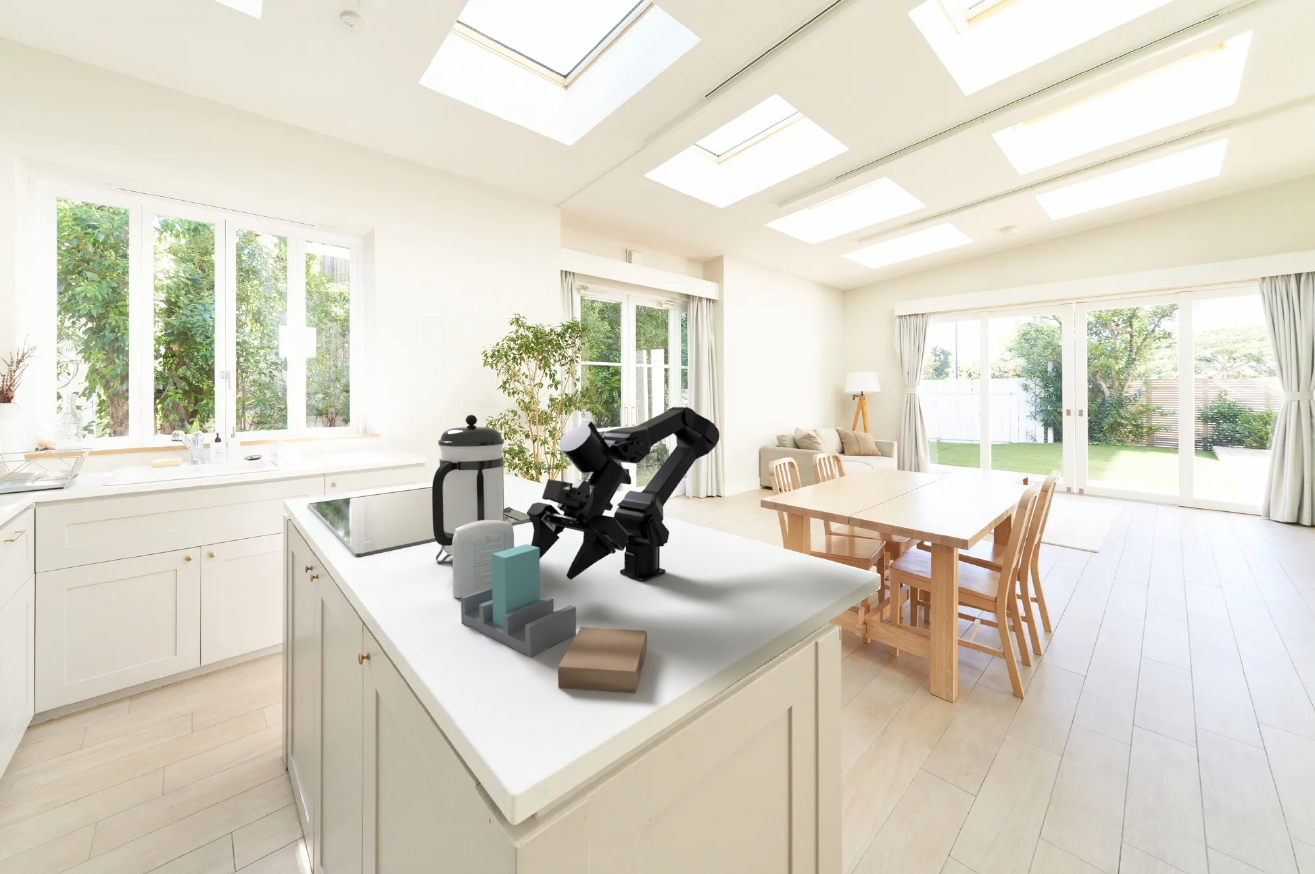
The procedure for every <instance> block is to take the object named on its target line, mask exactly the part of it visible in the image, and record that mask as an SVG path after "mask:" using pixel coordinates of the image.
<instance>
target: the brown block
mask: <svg viewBox="0 0 1315 874" xmlns="http://www.w3.org/2000/svg"><path fill="white" fill-rule="evenodd" d="M647 633H648V631H647V630H643V629H642V630H641V629H623V628H607V627H606V628H604V627H589V626H588V627H587V626H580V628H579V629H578V632H576V634H575V635H574V636H575V637H574V638H573V640H572V642H571V643H570V645H569V647H568V648H567V650H566V652H565V654H564V655H563V657H562V658H561V661H560V662H559V664H558V666H557V679H558V681H557V683H558V684H557V687H558V688H561V689H562V688H563V689H564V688H565V689H577V690H579V689H580V690H588V691H589V690H591V691H604V692H617V693H618V692H619V693H620V692H621V693H631V692H634V693H633V694H636V691H637V688H638V683H639V680H640V676H641V672H642V668H643V665H644V661H645V656H646V653H647V649H648V647H647V646H648V642H647V641H648V639H647V638H648V636H647V635H648V634H647Z"/></svg>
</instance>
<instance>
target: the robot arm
mask: <svg viewBox="0 0 1315 874" xmlns="http://www.w3.org/2000/svg"><path fill="white" fill-rule="evenodd" d="M671 435H674V436H675V439H676V446H675V448H674V449H673V450H672V451H671V453H670V454H669V456H668V457H667V458H666V460H665V461H664V462H663V464H662V465H661V466H660V468H659V469H658V470H657V472H656V473H655V475H653V477H651V480H650V481H649V482H648V483H647V485H646V486H645V487H644V489H643V490H642V491H634V490H629V491H628V492H626V494H625V495H624V497H623V499H621V501H620V502H618V503H617V506H618V507H617V509H616V510H615V511H614V514H613V516H609V515H604V512H605V511H609V512H611V511H612V509H613V508H614V505H613V504H612V503H611V501H612V499H613V497H614V496H615V494H616V492H617V491H618V488H619V487H620V485H621V484H622V485H623V484H624V485H631V484H632V477H631V475H630V469H629V468H624V467H623V466H622V464H621V463H627V464H628V463H629V464H637V463H640V462H641V461H643V460H644V458H646V457H647V456H648V455H649V454H651V449H652V447H653V446H654V445H656V444H657V443H659V442H661V441H663V440H665V439H667V438H668V437H670V436H671ZM720 438H721V437H720V430H719V428H718V427H717V426H716V425H715V424H714V422H712V420H710V419H707V418H706V417H704V416H702V415H700V414H698V413H697V412H695V411H694V409H692V408H690V407H688V406H673V407H671V408H669V409H667V411H664V412H662V413H660V414H658V415H656V416H654V417H651V418H650V419H648V420H646V421H644V422H642V423H640V424H638V425H634V426H626V427H620V428H614V429H610V430H608V431H607V432H605V433H604V436H603V437H602V435H601V434H600V432H599V431H598V429H597V426H596V425H595V423H593V421H587V420H585V421H584V420H583V421H582V422H581V423H580V424H579V425H577V426H575V427H573V428H572V429H570V430H569V431H567V432H566V433H564V434H563V435H562V436H561V438H560V441H559V443H558V446H559V449H560V451H561V452H562V453H563V454H564V455H565V456H566V457H567V459H568V460H569V461H570V463H572V464H573V465H574V467H576V469H577V471H579V472H580V473H581V474H582V473H583V474H586V476H585V477H584V479H577V478H576V479H575V480H574V482H573V483H572V482H567V481H563V480H558V479H557V480H556V479H552V478H551V479H550V478H548V479H547V482H546V484H545V488H544V490H543V493H542V497H541V499H543V500H545V501H552V502H554V503H557V505H556V508H558V509H559V511H561V512H563V514H561V513H560V512H559V511H558V510H557V509H556V508H555V507H554V505H552V504H549V503H544V502H540V501H539V502H535V503H532V504H531V505H530V507H529V508H528V509H527V511H526V515H527V516H528V518H529V521H530V522H531V523H532V526H533V534H532V540H531V543H530V545H531V546H535V547H538V548H539V552H540V559H542V557H543V556H544V555H545V554H546V553H547V552H548V551H549V550H550V549H551V548H552V547H553V546H554V545H555V543H557V541H558V540H559V539H560V538H561V537H560V536H559V534H562V532H564V530H565V528H566V529H568V530H573V531H579V532H581V533H583V536H582V537H583V538H582V539H583V540H582V543H581V546H580V547H579V549H578V551H577V553H576V554H575V557H574V559H573V561H572V562H571V564H570V566H569V569H568V570H567V573H566V576H565V577H566V578H567V579H568V580H570V581H571V580H574V578H576V577H577V576H578V575H580V574H582V573H583V572H584V571H586V570H587V569H589V568H590V567H591V566H593V565H594V564H595V563H597V562H599V561H600V560H602V559H604V558H605V557H607V556H610V555H611V554H613V555H614V554H615V553H616V552H617V551H620V552H623V551H624V550H625V551H624V555H623V556H624V568H623V569H620V570H619V574H622V575H623V576H624V575H625V576H628V577H630V578H633V579H636V580H639V581H642V582H644V581H648V580H649V579H652V578H655V577H657V576H661V575H663V574H666V572H667V571H666V569H665V568H661V567H660V565H661V564H660V563H661V562H660V559H661V558H660V553H661V551H660V549H661V548H662V547H665V544H668V541H669V536H670V531H669V529H668V528H667V527H666V525H665V524H664V523H663V521H664V506H665V504H666V503H667V501H668V500H669V499H670V497H671V496H672V494H673V492H674V491H675V490H676V488H677V487H678V486H679V484H680V482H681V481H682V480H683V478H684V477H685V476H686V474H687V473H688V471H689V470H690V468H691V467H692V466H693V464H694V462H696V460H698V459H699V458H701V457H704V456H706V455H708V454H709V453H711V451H713V449H714V448H715V447H716V446H717V444H718V443H719V440H720ZM660 547H661V548H660Z"/></svg>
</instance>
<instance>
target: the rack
mask: <svg viewBox="0 0 1315 874" xmlns="http://www.w3.org/2000/svg"><path fill="white" fill-rule="evenodd" d="M554 602H555V599H554V597H552V596H551V597H550V596H547V597H545V598H543V599H542V598H541V599H540V601H537V602H535V603H532V604H530V605H527V606H525V607H522V608H520V609H517V610H515V611H512V612H510V613H507V614H505V615H503V627H501V626H499V625H496V624H494V623H493V601H492V586H490V587H488V588H485V589H482V590H479V591H476V592H473V593H470V594H467V595H464V596H461V598H460V615H461V618H460V620H461V624H463V625H465V626H467V627H469V628H471V629H473V630H475V631H477V632H479V633H481V634H484V635H485V636H487V637H489V638H491V639H493V640H495V641H497V642H499V643H501V644H503V645H506V646H508V647H509V648H512V649H514V650H515V651H517V652H520V653H521V654H524V655H525V656H527V657H528V658H531V657H534V656H536V655H537V654H539V653H542V652H543V651H546V650H547V649H549V648H551V647H554V646H555V645H557V644H559V643H561V642H563V641H565V640H567V639H569V638H570V637H573V636H576V635H577V611H576V610H577V607H576V605H572V604H569V605H568V606H566V607H563V608H560V609H558V610H555V609H554V607H555V606H554V604H555V603H554Z"/></svg>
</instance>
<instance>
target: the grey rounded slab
mask: <svg viewBox="0 0 1315 874" xmlns="http://www.w3.org/2000/svg"><path fill="white" fill-rule="evenodd" d="M514 533H515V531H514V527H513V524H512V523H511V522H510V521H505V520H504V521H501V520H482V521H476V522H472V523H468V524H465V525H463V526H460V527H458V528H456V529H455V530H454V536H453V556H452V594H453V597H454V598H456V599H461V596H464V595H467V594H470V593H473V592H476V591H479V590H482V589H485V588H488V587H490V586H492V554H493V553H497V552H500V551H504V550H507V549H511V548H514V547H515V534H514Z"/></svg>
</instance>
